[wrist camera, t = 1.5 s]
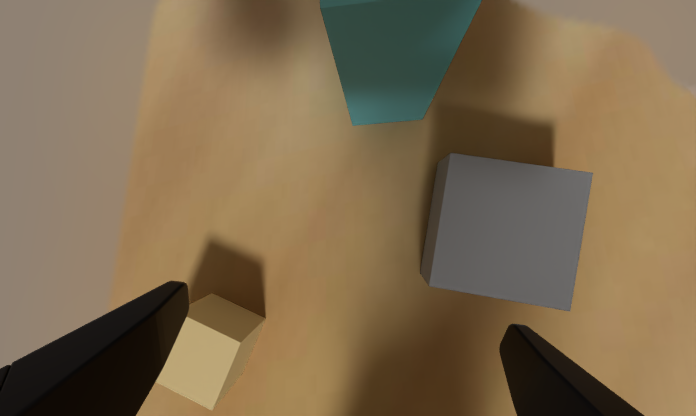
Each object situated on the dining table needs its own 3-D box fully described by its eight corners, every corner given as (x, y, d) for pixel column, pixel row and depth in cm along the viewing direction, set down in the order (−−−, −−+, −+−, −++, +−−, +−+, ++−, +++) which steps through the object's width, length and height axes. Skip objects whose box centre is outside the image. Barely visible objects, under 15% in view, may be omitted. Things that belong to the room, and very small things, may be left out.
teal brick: (422, 119, 20) (488, -13, 8) (352, 125, 21) (320, 8, 9) (417, 50, 20) (475, -180, 8) (348, 57, 21) (309, -152, 9)
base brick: (535, 293, 20) (569, 311, 16) (419, 273, 20) (429, 286, 17) (554, 179, 20) (592, 172, 16) (437, 162, 20) (450, 152, 17)
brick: (266, 318, 21) (240, 342, 17) (242, 373, 21) (212, 410, 17) (212, 292, 21) (175, 311, 18) (189, 347, 22) (147, 377, 18)
